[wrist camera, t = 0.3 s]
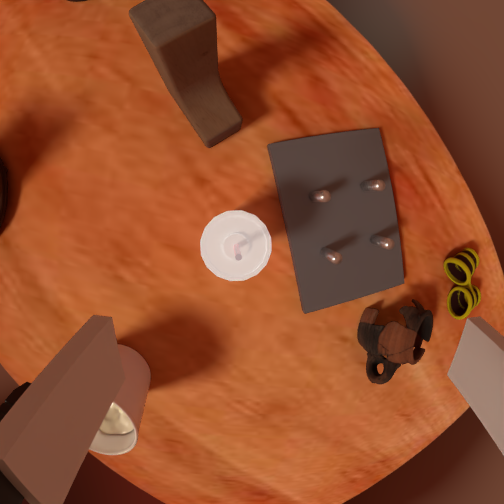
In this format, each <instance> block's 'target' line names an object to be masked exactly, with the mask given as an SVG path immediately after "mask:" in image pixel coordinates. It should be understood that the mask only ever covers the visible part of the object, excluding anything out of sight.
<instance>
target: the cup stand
mask: <svg viewBox="0 0 504 504" xmlns="http://www.w3.org/2000/svg"><path fill="white" fill-rule="evenodd" d="M267 148H268V152H269V156H270V160H271V164H272V169H273V173H274V177H275V182H276V186H277V191H278V195H279V199H280V204H281V208H282V213H283V218H284V222H285V227H286V232H287V236H288V241H289V246H290V251H291V256H292V260H293V265H294V270H295V275H296V280H297V285H298V291H299V296H300V301H301V306H302V311H303V312H304V314H306V313H309V312H313V311H317V310H320V309H324V308H327V307H331V306H334V305H337V304H341V303H344V302H347V301H351V300H354V299H357V298H361V297H364V296H367V295H370V294H373V293H376V292H379V291H383V290H386V289H389V288H392V287H395V286H398V285H401V284H404V274H403V263H402V253H401V244H400V236H399V229H398V222H397V215H396V209H395V202H394V197H393V191H392V185H391V180H390V175H389V170H388V165H387V161H386V156H385V152H384V147H383V143H382V139H381V135H380V131H379V128H373V129H364V130H356V131H348V132H340V133H333V134H326V135H319V136H312V137H306V138H300V139H294V140H288V141H283V142H277V143H272V144H268V145H267Z"/></svg>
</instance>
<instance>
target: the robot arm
mask: <svg viewBox="0 0 504 504" xmlns="http://www.w3.org/2000/svg"><path fill="white" fill-rule="evenodd" d="M68 1H73V2H79V1H86V0H68ZM447 375H448V377H449V378H450V379H451V381H452V382H453V383H454V385H455V386H456V387H457V389H458V390H459V391H460V393H461V394H462V395H463V397H464V398H465V400H466V401H467V402H468V404H469V405H470V407H471V408H472V409H473V411H474V412H475V414H476V415H477V416H478V418H479V419H480V421H481V422H482V424H483V425H484V427H485V428H486V430H487V431H488V433H489V434H490V436H491V437H492V438H493V440H494V442H495V443H496V445H497V446H498V448H499V449H500V451H501V452H502V454H503V456H504V337H503V336H502V335H501V334H500V333H499V332H498V331H496V330H495V329H494V328H493V327H492V326H491V325H489V324H488V323H487V322H486V321H485V320H484V319H482V318H481V317H473V318H467V321H466V324H465V327H464V330H463V333H462V336H461V339H460V342H459V345H458V348H457V351H456V353H455V356H454V359H453V361H452V364H451V366H450V369H449V371H448V374H447ZM125 379H126V378H125V375H124V371H123V367H122V362H121V358H120V354H119V349H118V345H117V340H116V335H115V331H114V325H113V320H112V317H107V316H99V315H93V316H92V317H91V318H90V319H89V320H88V321H87V322H86V323H85V324H84V325H83V326H82V328H81V329H80V330H79V331H78V332H77V333H76V334H75V335H74V336H73V337H72V338H71V339H70V340H69V342H68V343H67V344H66V345H65V346H64V347H63V348H62V349H61V350H60V352H59V353H58V354H57V355H56V356H55V357H54V358H53V359H52V360H51V362H50V363H49V364H48V365H47V366H46V367H45V368H44V370H43V371H42V372H41V373H40V374H39V375H38V377H37V378H36V379H35V380H34V381H33V382H32V383H29V382H26V383H24V384H23V385H21V386H19V387H18V388H16V389H15V390H13V392H12V393H11V394H10V395H9V396H8V398H7V399H6V400H5V403H3V404H2V405H1V406H0V504H21V503H22V501H23V499H24V498H25V499H26V500H27V501H28V502H29V503H30V504H63V502H64V500H65V497H66V496H67V493H68V491H69V489H70V487H71V485H72V483H73V481H74V478H75V476H76V474H77V472H78V470H79V468H80V466H81V464H82V462H83V460H84V458H85V456H86V454H87V452H88V450H89V448H90V446H91V444H92V442H93V440H94V438H95V436H96V434H97V432H98V430H99V428H100V426H101V424H102V422H103V420H104V418H105V416H106V414H107V413H108V411H109V409H110V407H111V405H112V403H113V401H114V399H115V397H116V396H117V394H118V392H119V390H120V388H121V386H122V384H123V383H124V381H125Z"/></svg>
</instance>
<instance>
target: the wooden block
mask: <svg viewBox="0 0 504 504" xmlns="http://www.w3.org/2000/svg"><path fill="white" fill-rule="evenodd" d="M129 16H130V18H131V20H132V22H133V24H134V26H135V27H136V29H137V31H138V33H139V35H140V37H141V39H142V41H143V43H144V45H145V47H146V48H147V50H148V52H149V54H150V56H151V58H152V60H153V62H154V64H155V66H156V68H157V70H158V71H159V73H160V75H161V77H162V79H163V81H164V83H165V85H166V87H167V89H168V91H169V92H170V94H171V95H172V97H173V98H174V100H175V101H176V103H177V104H178V106H179V107H180V109H181V110H182V111H183V113H184V114H185V116H186V117H187V119H188V120H189V122H190V123H191V125H192V126H193V128H194V129H195V131H196V132H197V134H198V135H199V137H200V138H201V140H202V141H203V143H204V144H205V146H206V147H207V148H211V147H213V146H214V145H216V144H217V143H219V142H221V141H222V140H224V139H226V138H227V137H229V136H230V135H232V134H234V133H235V132H237V131H239V130H240V128H241V124H242V116H241V115H240V113H239V112H238V110H237V109H236V107H235V106H234V104H233V103H232V101H231V99H230V98H229V96H228V94H227V92H226V90H225V88H224V86H223V84H222V82H221V79H220V76H219V72H218V56H217V29H216V15H215V13H214V12H213V11H212V10H211V9H210V8H209V7H208V6H207V4H206V3H205V2H204V1H203V0H145V1H143V2H141V3H140V4H138V5H136V6H134V7H133V8H131V9H130V10H129Z"/></svg>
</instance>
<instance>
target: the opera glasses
mask: <svg viewBox="0 0 504 504" xmlns="http://www.w3.org/2000/svg"><path fill="white" fill-rule="evenodd" d="M478 265H479V257H478V255H477V253H476V252H475V251H474V250H473V249H471V248H465V249H463V250H462V252H460V253H458V254H456V255H455V256H454V257H453V258H452V257H451V258H447V259H446V260H445V261H444V270H445V273H446V274H447V276H448V277H449V278H450V279H451V280H452V281H453V282H454V283H456V284H458V285H462V286H457V287H454V288H453V289H452V290H451V291H450V293H449V294H448V298H447V307H448V311H449V313H450V314H451V316H452V317H454V318H455V319H464V318H466V317H467V316H468V315H469V313H470V312H471V310H472V309H473V308H474V307H475V306H477V305H478V304H479V303H480V300H481V293H480V290H479V289H478V287H477V286H475V285H471V276H472V275H473V273H474V271H475V269H476V267H477V266H478ZM467 299H468V300H467Z"/></svg>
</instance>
